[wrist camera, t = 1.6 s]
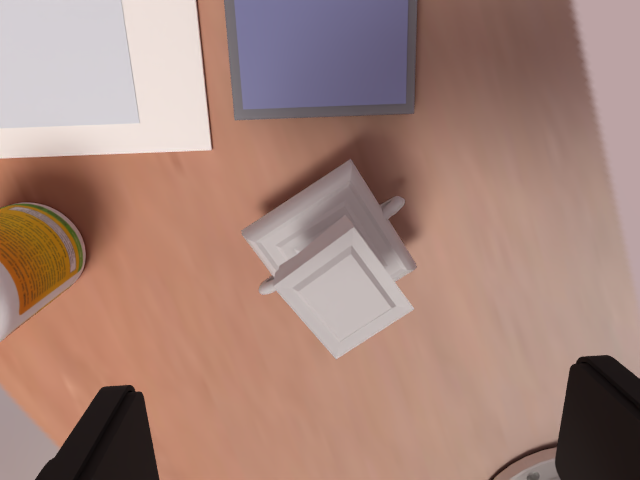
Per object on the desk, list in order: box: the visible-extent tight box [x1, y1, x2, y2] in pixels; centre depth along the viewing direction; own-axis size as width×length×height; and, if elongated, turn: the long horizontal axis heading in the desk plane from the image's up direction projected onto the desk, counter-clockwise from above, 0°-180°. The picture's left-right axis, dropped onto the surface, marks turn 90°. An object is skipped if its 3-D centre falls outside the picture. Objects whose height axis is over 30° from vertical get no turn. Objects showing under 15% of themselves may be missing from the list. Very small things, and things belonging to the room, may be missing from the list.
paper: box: [0, 0, 212, 158], centre depth 21 cm, size 16×14×1 cm
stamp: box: [241, 159, 417, 359], centre depth 21 cm, size 9×7×8 cm
